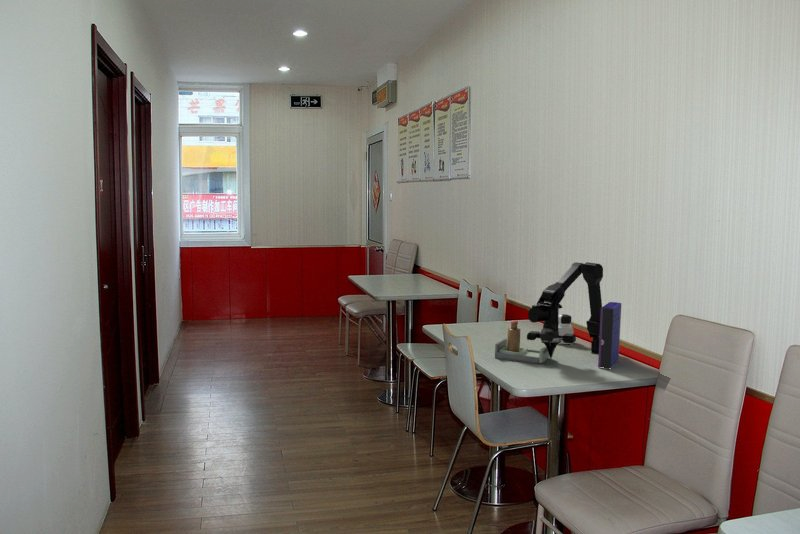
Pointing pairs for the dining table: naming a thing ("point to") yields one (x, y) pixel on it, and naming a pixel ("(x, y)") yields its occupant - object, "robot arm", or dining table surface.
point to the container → (565, 326)
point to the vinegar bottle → (513, 337)
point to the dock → (513, 356)
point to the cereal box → (609, 334)
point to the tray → (529, 353)
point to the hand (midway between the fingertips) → (551, 357)
